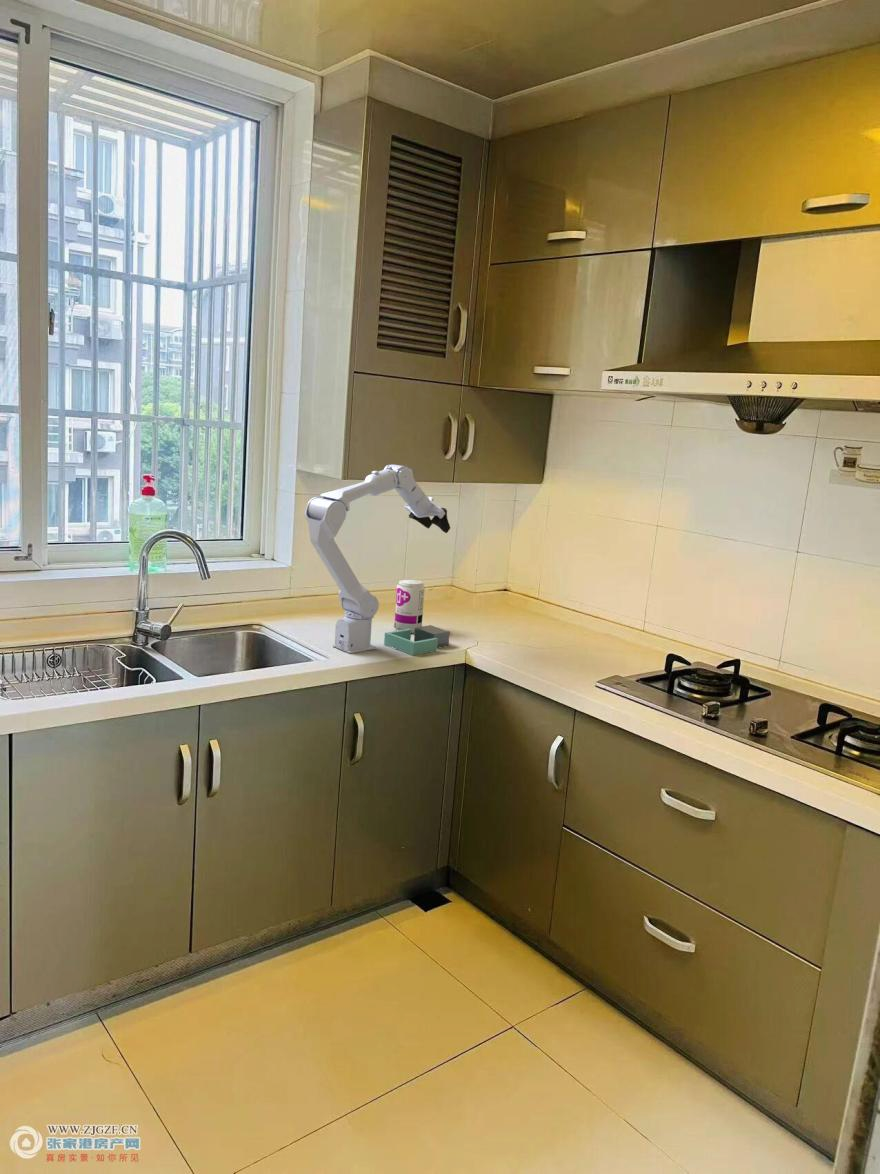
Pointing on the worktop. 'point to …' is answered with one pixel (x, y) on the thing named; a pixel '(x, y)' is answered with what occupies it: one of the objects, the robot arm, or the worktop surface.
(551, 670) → the worktop surface
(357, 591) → the robot arm
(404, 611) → the supplement can
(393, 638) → the dock
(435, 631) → the block
